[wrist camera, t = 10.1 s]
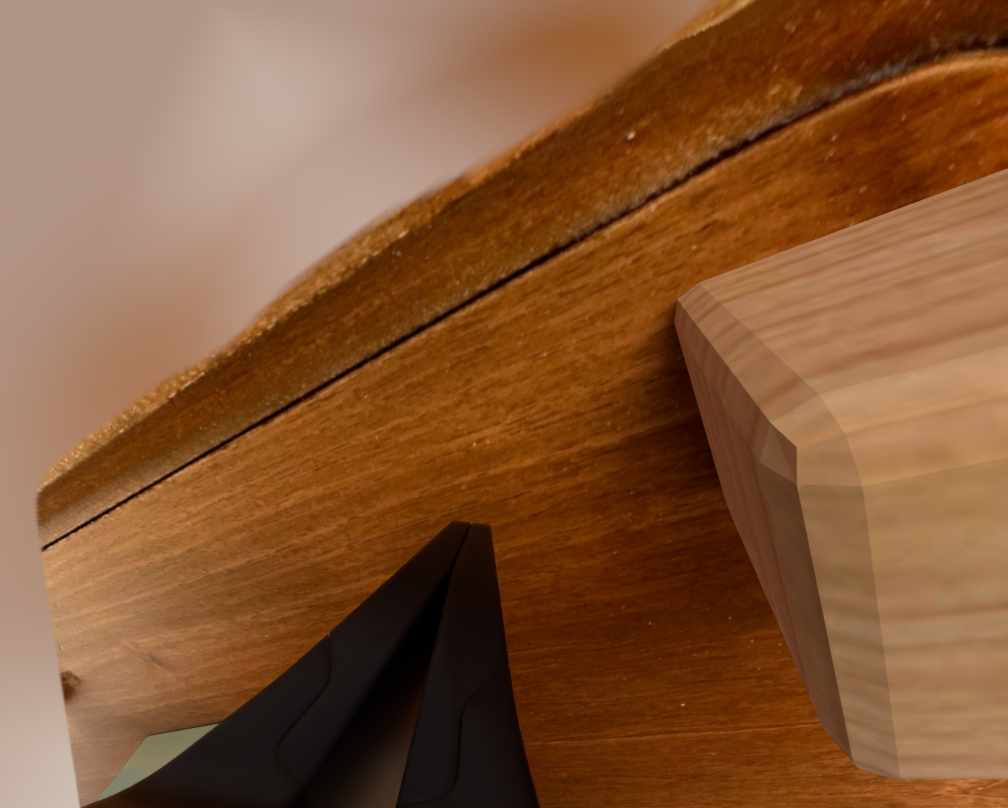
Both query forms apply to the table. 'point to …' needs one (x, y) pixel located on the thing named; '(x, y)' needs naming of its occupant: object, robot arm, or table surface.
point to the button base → (154, 756)
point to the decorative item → (875, 470)
